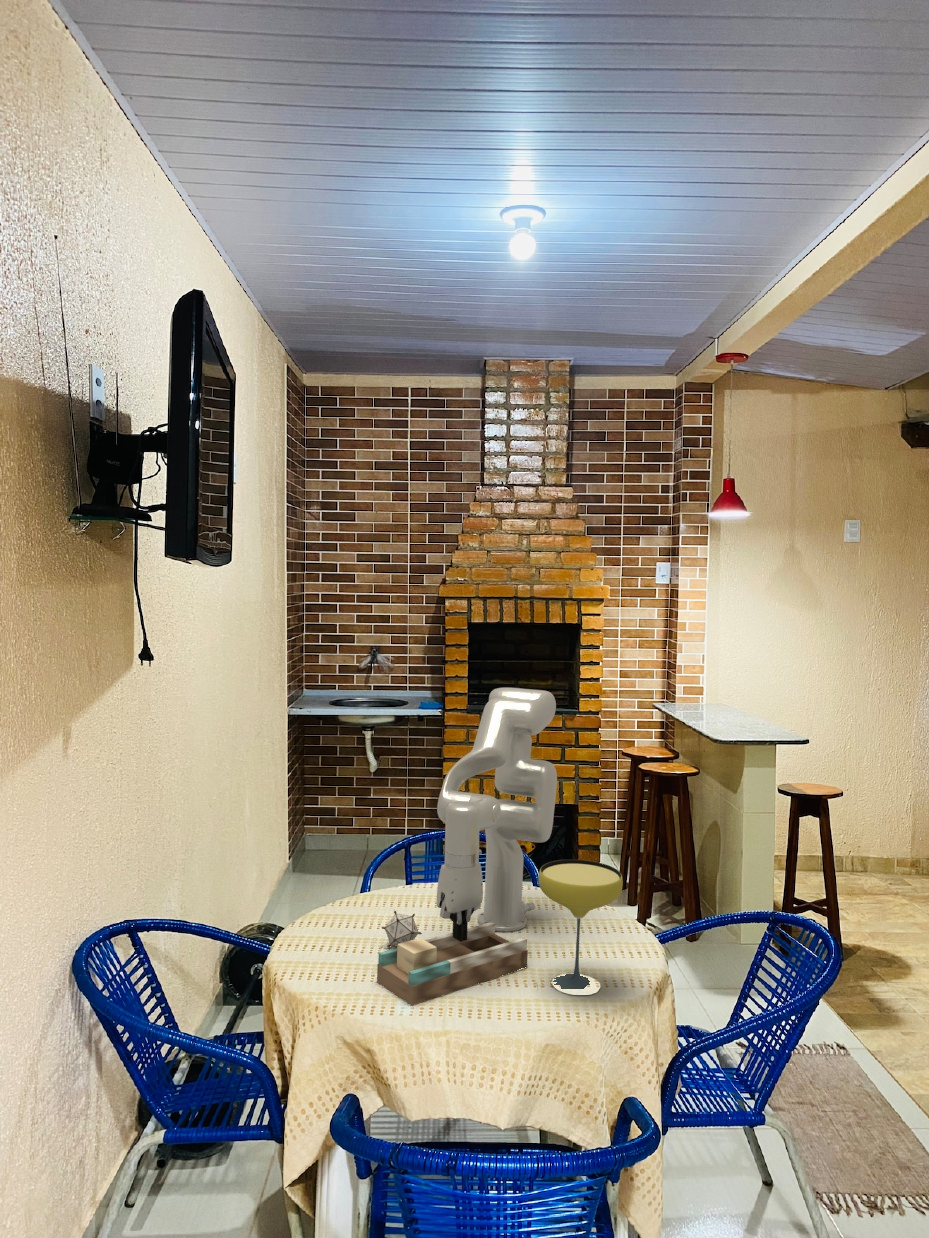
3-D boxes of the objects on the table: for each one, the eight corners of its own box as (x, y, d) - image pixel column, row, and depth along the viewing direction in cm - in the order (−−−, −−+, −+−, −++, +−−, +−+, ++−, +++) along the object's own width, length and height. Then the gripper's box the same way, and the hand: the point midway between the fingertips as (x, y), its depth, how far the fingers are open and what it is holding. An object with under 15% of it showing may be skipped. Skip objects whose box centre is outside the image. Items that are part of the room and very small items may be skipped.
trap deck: (490, 948, 218) (491, 921, 217) (527, 967, 208) (528, 939, 207) (376, 982, 198) (377, 952, 197) (411, 1005, 188) (412, 974, 187)
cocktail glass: (532, 965, 209) (537, 857, 208) (612, 969, 209) (617, 860, 207) (536, 1002, 191) (541, 884, 190) (623, 1006, 191) (628, 888, 189)
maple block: (419, 960, 200) (420, 937, 200) (436, 969, 196) (436, 946, 195) (396, 966, 196) (397, 943, 196) (413, 977, 192) (413, 953, 192)
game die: (407, 960, 218) (434, 926, 219) (394, 960, 211) (422, 925, 211) (382, 934, 222) (407, 901, 223) (368, 934, 214) (395, 899, 215)
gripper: (477, 847, 210) (475, 925, 211) (424, 860, 201) (422, 941, 202) (498, 856, 204) (496, 936, 206) (445, 870, 195) (443, 953, 196)
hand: (459, 938), depth 204 cm, fingers closed
